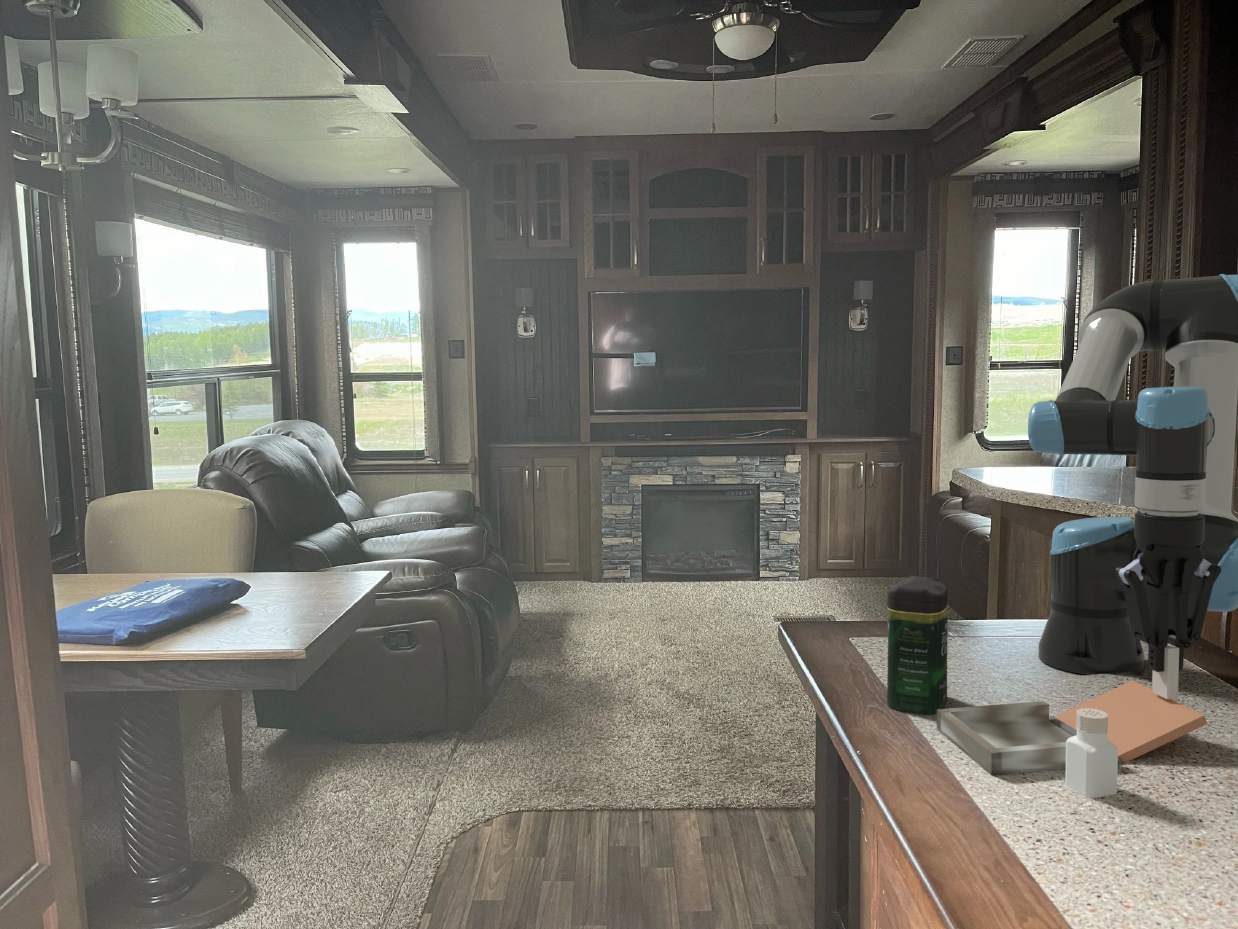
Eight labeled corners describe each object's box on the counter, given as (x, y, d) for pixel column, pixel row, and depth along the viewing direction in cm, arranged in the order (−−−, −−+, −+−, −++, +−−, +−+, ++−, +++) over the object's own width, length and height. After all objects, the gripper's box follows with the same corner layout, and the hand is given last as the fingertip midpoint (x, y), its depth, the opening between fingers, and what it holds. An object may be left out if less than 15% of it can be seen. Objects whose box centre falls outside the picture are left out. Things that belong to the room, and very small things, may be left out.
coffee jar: (940, 723, 124) (940, 589, 122) (881, 714, 128) (880, 584, 126) (953, 700, 132) (953, 574, 130) (897, 692, 136) (896, 570, 134)
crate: (1043, 726, 121) (1044, 701, 121) (1111, 771, 108) (1112, 742, 107) (936, 735, 120) (936, 709, 119) (991, 782, 106) (991, 753, 106)
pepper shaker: (1089, 805, 99) (1091, 722, 99) (1062, 790, 103) (1064, 709, 102) (1119, 800, 101) (1121, 717, 100) (1091, 784, 104) (1093, 704, 103)
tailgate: (1049, 728, 121) (1134, 688, 122) (1114, 770, 108) (1208, 725, 109) (1046, 718, 121) (1131, 679, 122) (1110, 760, 108) (1205, 715, 109)
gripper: (1141, 518, 108) (1137, 709, 111) (1241, 513, 110) (1235, 701, 112) (1101, 509, 116) (1098, 689, 118) (1195, 504, 117) (1190, 681, 120)
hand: (1164, 695), depth 115 cm, fingers closed
